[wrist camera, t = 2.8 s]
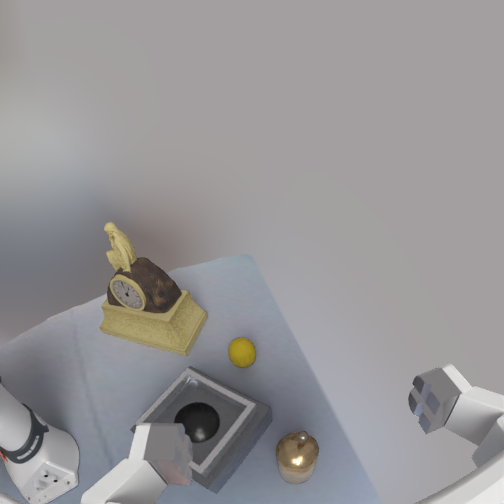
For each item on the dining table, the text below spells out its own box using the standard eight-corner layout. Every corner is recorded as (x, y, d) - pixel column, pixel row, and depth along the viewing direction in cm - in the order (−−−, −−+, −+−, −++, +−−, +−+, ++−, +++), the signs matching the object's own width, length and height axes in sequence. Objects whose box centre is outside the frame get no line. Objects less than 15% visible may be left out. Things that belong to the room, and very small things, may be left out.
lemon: (235, 377, 57) (228, 355, 52) (229, 357, 61) (222, 334, 57) (261, 369, 58) (256, 347, 53) (253, 350, 62) (248, 327, 58)
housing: (216, 493, 35) (203, 486, 31) (143, 441, 44) (123, 424, 40) (272, 420, 47) (268, 400, 43) (198, 381, 56) (186, 358, 52)
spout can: (303, 488, 35) (306, 470, 26) (273, 475, 38) (266, 452, 29) (318, 462, 38) (327, 434, 30) (290, 451, 41) (288, 418, 33)
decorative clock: (102, 332, 71) (53, 240, 55) (125, 302, 81) (87, 213, 65) (187, 356, 63) (141, 246, 46) (208, 317, 73) (177, 210, 56)
